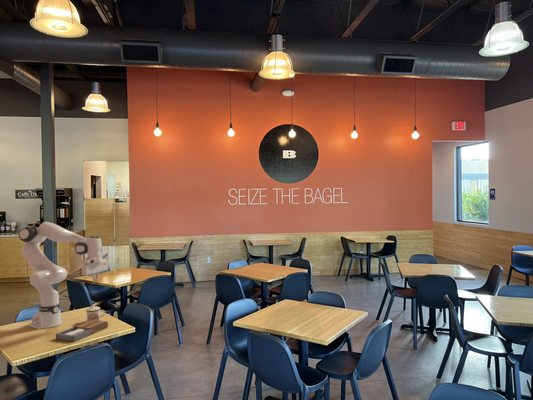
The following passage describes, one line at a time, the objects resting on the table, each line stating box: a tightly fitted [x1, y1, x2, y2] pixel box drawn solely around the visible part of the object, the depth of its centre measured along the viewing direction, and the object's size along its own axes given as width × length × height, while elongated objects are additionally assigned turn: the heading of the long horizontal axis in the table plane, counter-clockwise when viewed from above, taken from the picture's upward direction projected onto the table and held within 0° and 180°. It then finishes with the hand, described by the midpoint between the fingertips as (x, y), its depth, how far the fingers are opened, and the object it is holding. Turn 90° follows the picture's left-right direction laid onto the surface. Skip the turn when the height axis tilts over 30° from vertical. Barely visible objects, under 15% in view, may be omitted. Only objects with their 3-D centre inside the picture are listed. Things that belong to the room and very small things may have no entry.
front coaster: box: [66, 331, 78, 336], centre depth 232 cm, size 5×5×2 cm
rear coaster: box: [73, 329, 85, 334], centre depth 237 cm, size 5×5×2 cm
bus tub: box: [55, 326, 91, 343], centre depth 233 cm, size 15×13×4 cm
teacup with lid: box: [85, 304, 106, 321], centre depth 264 cm, size 12×9×12 cm
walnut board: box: [73, 320, 109, 336], centre depth 246 cm, size 15×14×4 cm
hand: (95, 279), depth 258 cm, fingers closed
